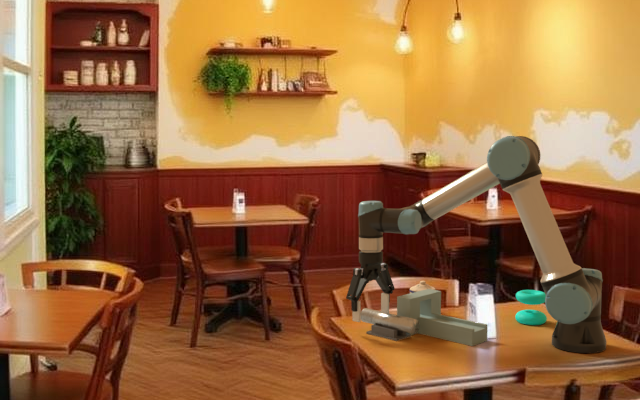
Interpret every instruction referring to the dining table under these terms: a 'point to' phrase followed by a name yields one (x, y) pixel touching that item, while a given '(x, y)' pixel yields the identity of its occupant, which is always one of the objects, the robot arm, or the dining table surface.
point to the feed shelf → (453, 329)
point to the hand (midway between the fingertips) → (371, 317)
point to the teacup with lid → (421, 287)
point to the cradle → (387, 333)
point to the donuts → (531, 315)
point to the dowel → (390, 320)
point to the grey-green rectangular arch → (419, 304)
